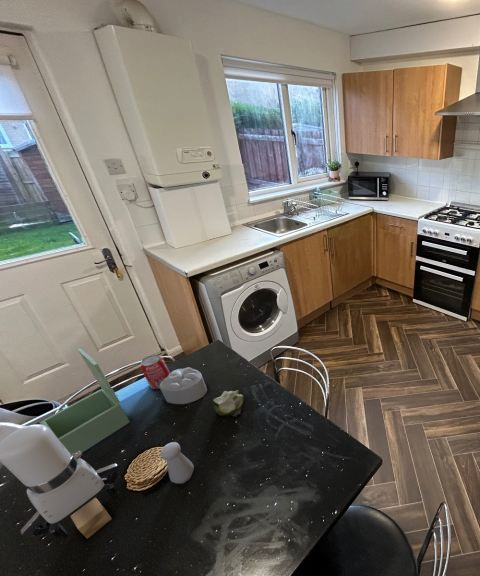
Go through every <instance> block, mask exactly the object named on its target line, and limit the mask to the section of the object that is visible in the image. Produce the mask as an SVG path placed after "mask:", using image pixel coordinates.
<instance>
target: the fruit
mask: <svg viewBox="0 0 480 576" xmlns="http://www.w3.org/2000/svg"><path fill="white" fill-rule="evenodd" d="M212 402H213V404H208V406H209V407H213V409H214V411H215V413H217V414H218V415H219V416H231V417H235V418H236V417H237V415H241V411H242V406H243V403H244V395H243V394H242V393H240V390H239V389H237V390H234V391H233V390H230V391H227V390H224V391H223V392H222V394H221V395H220V396H218V397H216V398H214V399H213V400H212Z"/></svg>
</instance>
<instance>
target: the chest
mask: <svg viewBox="0 0 480 576" xmlns="http://www.w3.org/2000/svg"><path fill="white" fill-rule="evenodd" d="M129 423H131V421H130V420H129V418H128V416H127V414H126V412H125V411H124V409H123V407H122V406H121V403H119V404H117V403H116V402H115V401H114V400H113V399H112V398H111V397H110V396H109V395H108V394H107V393H106V392H105V391H104V390H103V389H102V388H101V389H98V390H97V391H95V392H93V393H91V394H89V395H87V396H85V397H83V398H81V399H80V400H78V401H76V402H74V403H72V404H71V405H68V406H67V407H65V408H63V409H61V410H59V411H57V412H55V413H54V414H52V415H49V416H48V417H46V418H45V419H42V420H40V425H45V426H47V427H48V428H49V429H50V430H51V431H52V433H53V434H54V435H55V436H56V437H57V438H58V440H59V441H60V442H61V443H62V444H63V446H64V447H65V448H66V449H67V451H68V452H69V453H70V454H71V453H73V454H74V453H77V452H78V451H81V453H82V454H83V453H84V452H86V451H87V450H88V449H90V448H92V447H93V446H95V445H97V444H98V443H99V442H101V441H103V440H105V439H106V438H108V437H109V436H111V435H112V434H114V433H115V432H117V431H118V430H120V429H121V428H123V427H125V426H126V425H128V424H129Z"/></svg>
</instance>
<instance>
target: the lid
mask: <svg viewBox="0 0 480 576" xmlns="http://www.w3.org/2000/svg"><path fill="white" fill-rule="evenodd" d="M77 351H78V353H79V354H80V356H81V358H82V359H83V361H84V362H85V364H86V366H87V368H88V369H89V371H90V372H91V374H92V375H93V377H94V379H95V380H96V382H97V384H98V385H99V387H100V388H101V389H103V390H104V391H105V392H106V393H107V394H108V395H109V396H110V397H111V398H112V399H113V400H114V401H115V402H116V403H117V404H121V401H120V399H119V398H118V396H117V394H116V392H115V391H114V389H113V387H112V386H111V384H110V383H109V381H108V379H107V377H106V376H105V374H104V372H103V370H102V369H101V367H100V366H99V364H98V363H97V361H95V360H94V359H93V358H92V357H91V356H89V354H88V353H87V352H85V351H84V350H83V349H82V348H78V349H77Z"/></svg>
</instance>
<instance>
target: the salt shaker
mask: <svg viewBox="0 0 480 576" xmlns="http://www.w3.org/2000/svg"><path fill="white" fill-rule="evenodd" d="M160 457H161V459H162V460H164V461H166V465H167V470H168V471H167V472H168V477H169V480H170V482H171V483H174V484H181V485H182V484H185V483H186V482H187V481H189V480H190V479H191V477H192V475H193V473H194V470H195V466H194V464H193V462H192V461H191V460H190V459H189V458H188V457H186V456H185V455H184V454H183V453H182V451H181V445H180V444H179V443H178V442H176V441H173V442H169V443H167V444H165V445H164V446H163V447H162V449H161V450H160Z"/></svg>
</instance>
